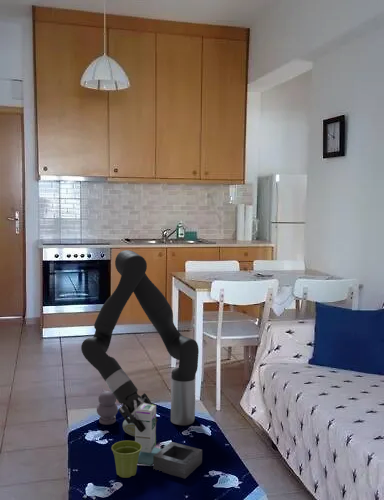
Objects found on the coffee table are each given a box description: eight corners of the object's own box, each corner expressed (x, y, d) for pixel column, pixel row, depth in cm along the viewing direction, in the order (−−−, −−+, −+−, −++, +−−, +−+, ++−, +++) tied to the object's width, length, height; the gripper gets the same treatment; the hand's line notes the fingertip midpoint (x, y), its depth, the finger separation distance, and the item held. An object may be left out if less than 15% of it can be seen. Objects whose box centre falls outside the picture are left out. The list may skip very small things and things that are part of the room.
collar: (171, 454, 183) (171, 441, 182) (202, 462, 177) (202, 449, 177) (153, 469, 172) (153, 455, 172) (185, 478, 167) (185, 464, 167)
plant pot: (114, 465, 174) (114, 439, 174) (143, 466, 174) (143, 440, 173) (108, 480, 165) (108, 453, 164) (139, 481, 165) (139, 454, 164)
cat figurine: (92, 421, 208) (92, 391, 207) (106, 415, 214) (106, 385, 213) (108, 427, 203) (108, 396, 202) (122, 420, 210) (122, 390, 208)
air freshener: (119, 435, 196) (119, 409, 195) (128, 426, 204) (128, 401, 203) (147, 440, 193) (147, 413, 192) (155, 430, 201) (155, 404, 200)
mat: (141, 445, 189) (141, 443, 189) (168, 452, 184) (168, 450, 184) (122, 458, 179) (122, 456, 179) (150, 466, 174) (150, 464, 174)
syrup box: (151, 453, 178) (152, 410, 177) (134, 451, 179) (135, 408, 178) (155, 445, 184) (156, 404, 182) (139, 443, 185) (140, 402, 183)
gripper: (115, 386, 176) (144, 428, 172) (139, 374, 189) (167, 413, 185) (102, 398, 179) (130, 440, 175) (126, 385, 192) (154, 424, 188)
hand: (149, 426), depth 180 cm, fingers closed on syrup box, 7 cm apart
